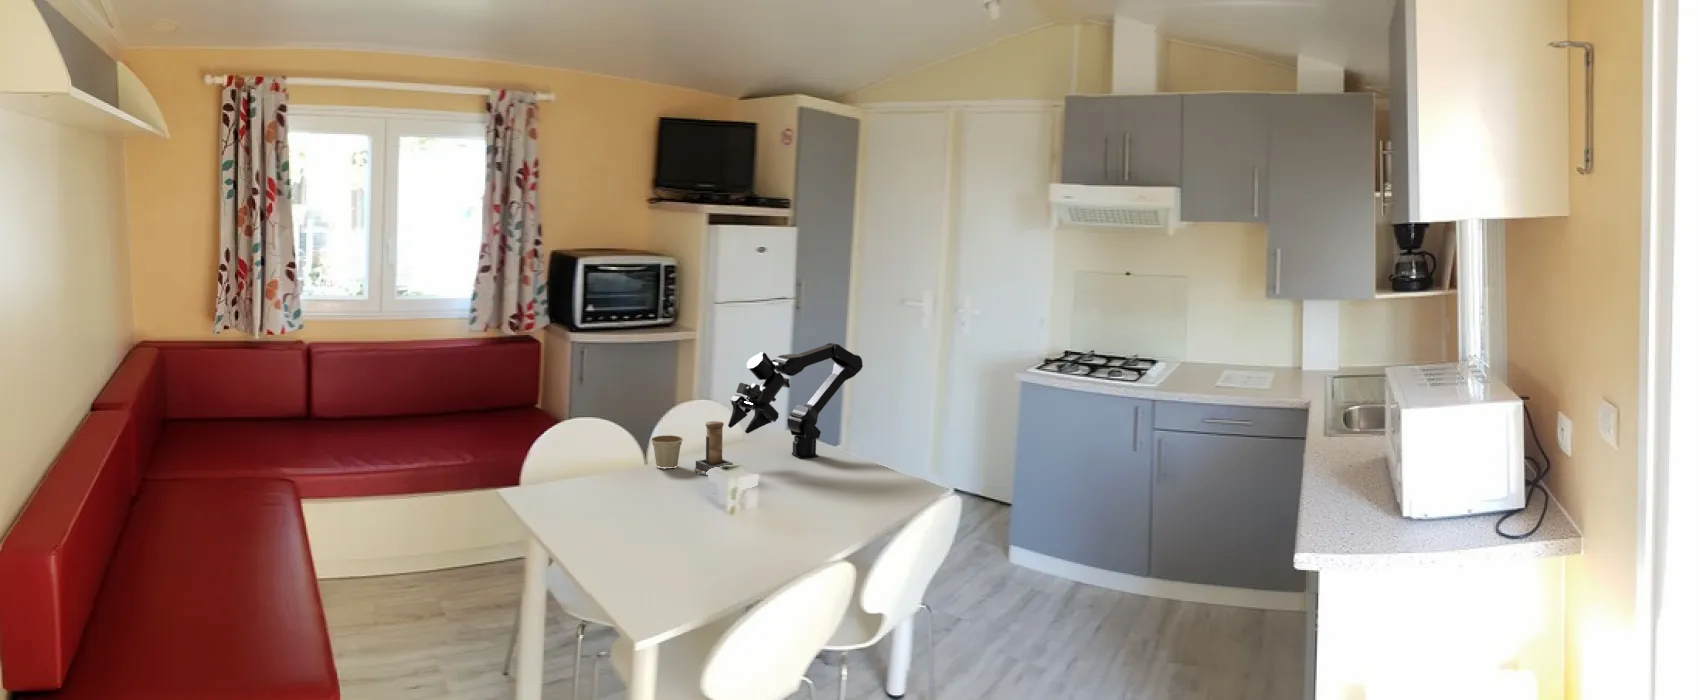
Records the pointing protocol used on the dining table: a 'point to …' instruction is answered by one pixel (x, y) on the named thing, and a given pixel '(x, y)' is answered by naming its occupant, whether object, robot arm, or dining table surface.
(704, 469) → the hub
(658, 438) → the flower pot
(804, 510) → the dining table surface
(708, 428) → the brown tapered domed piece
